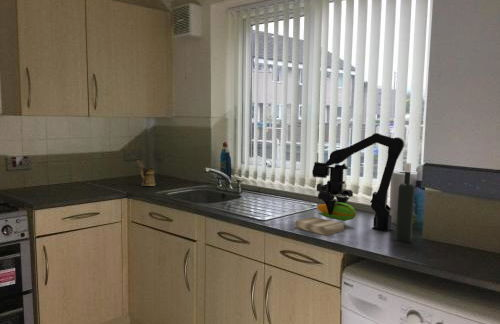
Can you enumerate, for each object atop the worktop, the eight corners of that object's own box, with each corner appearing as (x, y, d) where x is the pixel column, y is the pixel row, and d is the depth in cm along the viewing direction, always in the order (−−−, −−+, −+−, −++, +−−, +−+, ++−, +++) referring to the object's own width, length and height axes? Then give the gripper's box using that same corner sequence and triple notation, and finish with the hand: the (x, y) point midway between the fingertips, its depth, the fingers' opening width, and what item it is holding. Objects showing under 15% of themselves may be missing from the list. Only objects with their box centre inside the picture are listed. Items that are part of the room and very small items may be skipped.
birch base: (343, 230, 182) (344, 223, 182) (326, 235, 174) (326, 228, 174) (313, 223, 194) (313, 216, 193) (295, 227, 185) (295, 220, 185)
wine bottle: (412, 242, 167) (417, 164, 164) (396, 241, 168) (401, 163, 165) (409, 238, 172) (414, 162, 170) (394, 237, 173) (399, 162, 171)
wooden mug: (132, 186, 282) (133, 158, 280) (149, 184, 292) (150, 157, 291) (141, 188, 276) (141, 159, 275) (158, 186, 287) (158, 158, 285)
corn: (350, 205, 184) (312, 198, 198) (349, 223, 184) (311, 215, 198) (360, 204, 189) (322, 198, 203) (358, 222, 190) (320, 214, 204)
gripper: (333, 175, 205) (332, 208, 206) (308, 178, 192) (307, 213, 193) (354, 178, 197) (352, 212, 198) (329, 181, 184) (327, 217, 185)
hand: (334, 213), depth 194 cm, fingers closed on corn, 7 cm apart
